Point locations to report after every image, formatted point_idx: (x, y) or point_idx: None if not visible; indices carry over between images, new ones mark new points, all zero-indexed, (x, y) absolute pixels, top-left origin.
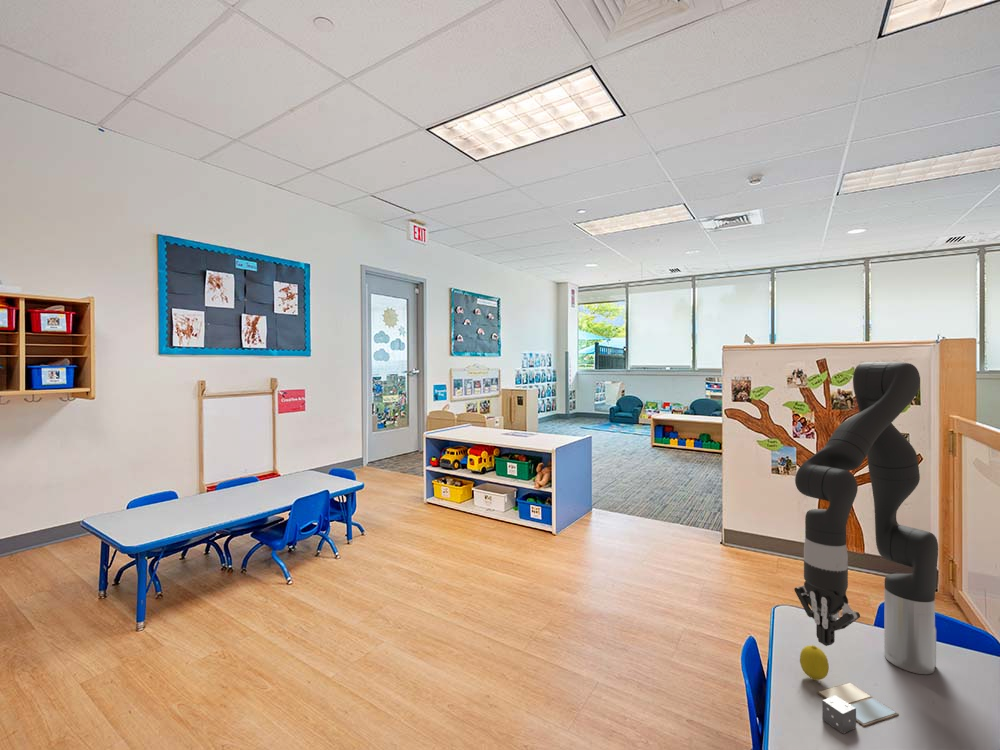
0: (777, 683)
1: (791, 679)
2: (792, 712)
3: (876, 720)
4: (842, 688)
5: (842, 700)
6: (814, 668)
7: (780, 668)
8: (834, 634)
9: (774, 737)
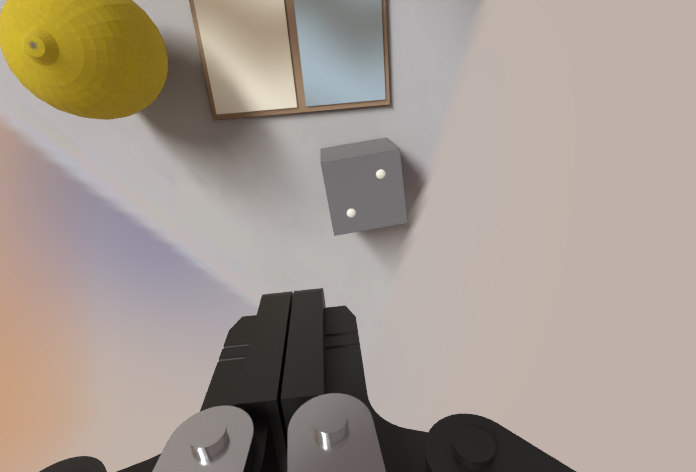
0: (150, 219)
1: (129, 151)
2: (286, 272)
3: (384, 31)
4: None
5: (353, 163)
6: (147, 100)
7: (57, 140)
8: (361, 360)
9: None
